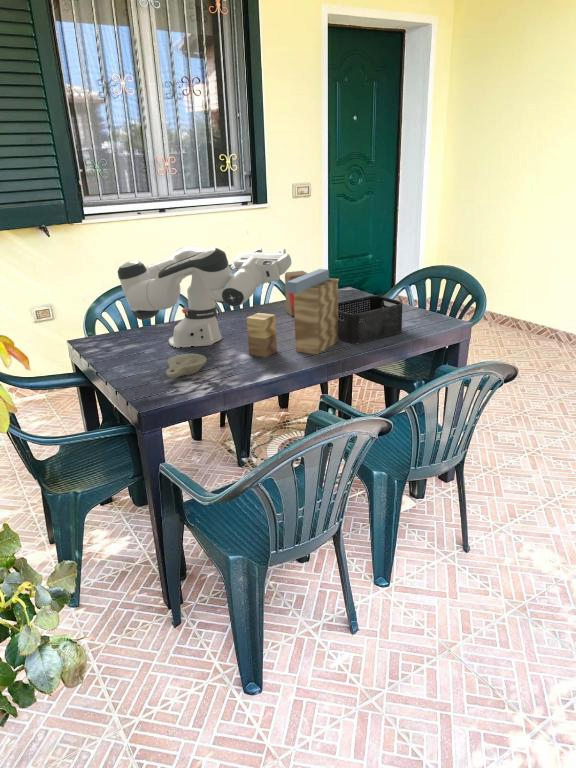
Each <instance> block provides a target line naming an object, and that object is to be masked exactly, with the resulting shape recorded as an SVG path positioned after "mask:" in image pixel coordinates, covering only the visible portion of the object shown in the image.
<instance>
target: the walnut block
mask: <svg viewBox="0 0 576 768" xmlns="http://www.w3.org/2000/svg"><path fill="white" fill-rule="evenodd" d="M247 343H248V344H247V345H248V355H250V356H258V357H262V358H263V357H264V358H268V357H269V356H271V355H273V354H274V353H276V352H277V351H278V348H277V347H278V345H277V332H276V333H275V334H273V335H272V336H270V337H268V338H266V339H263V338H256V337H249V336H248V335H247Z"/></svg>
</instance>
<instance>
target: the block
mask: <svg viewBox="0 0 576 768" xmlns="http://www.w3.org/2000/svg"><path fill="white" fill-rule="evenodd" d="M308 273H309V272H306V271H304V270H296V271H286V272H285V273H284V282H285V283H284V288H285V292H284V293H285V309H286V310H285V311H286V313H287V314H288V315H289V316H290V317H293V318H295V314H294V309H293V307H292V305H291V302H290V299H289V293H287V282H288V281H290V280H293V279H295V278H298V277H300V276H303V275H305V274H308Z"/></svg>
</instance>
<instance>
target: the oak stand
mask: <svg viewBox="0 0 576 768" xmlns="http://www.w3.org/2000/svg"><path fill="white" fill-rule="evenodd" d="M339 281H340V279H339V278H330V277H329V280H327V281H324V282H322V283H320V284H318V285H315V286H313V287H311V288H308V289H306V290H304V291H302V292H299V293H297V294H294V314H295V316H294V334H295V335H294V341H295V352H299V353H306V354H312V355H319V353H320V354H321V353H322V351H323V352H324V351H326V350H327V349H329V348H331V347H332V346H334V345H335V344H336V343H338V342H339V340H338V305H339V304H338V303H339V284H338V283H339ZM337 341H338V342H337ZM325 349H326V350H325Z"/></svg>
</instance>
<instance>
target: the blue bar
mask: <svg viewBox="0 0 576 768" xmlns="http://www.w3.org/2000/svg"><path fill="white" fill-rule="evenodd" d="M329 270H330V269H327V268H324V269H323V268H319V269H316V270H313V271H311V272H307V273H308V274H305V275H303V276H300V277H298V278H295V279H293V280H290V281H288V282H287V293H294V294H297V293H299V292H302V291H304V290H306V289H308V288H311V287H313V286H315V285H318V284H320V283H322V282H324V281H327V280H329V278H330V276H329V275H330V273H329Z"/></svg>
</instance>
